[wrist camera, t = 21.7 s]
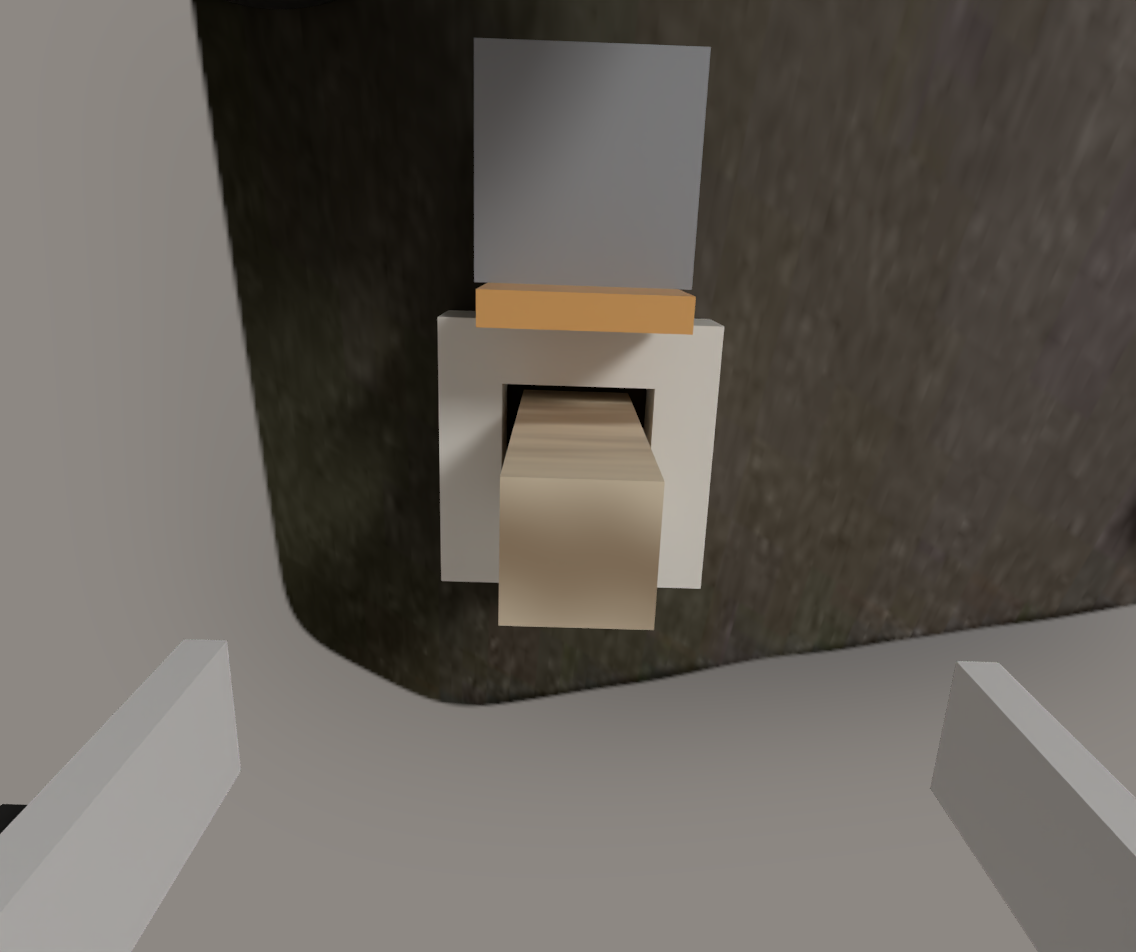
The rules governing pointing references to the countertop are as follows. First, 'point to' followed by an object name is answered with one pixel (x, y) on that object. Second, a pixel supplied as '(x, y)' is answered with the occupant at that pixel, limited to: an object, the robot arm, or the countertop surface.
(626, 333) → the socket
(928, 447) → the countertop surface
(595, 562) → the peg
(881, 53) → the countertop surface
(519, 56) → the shutter
